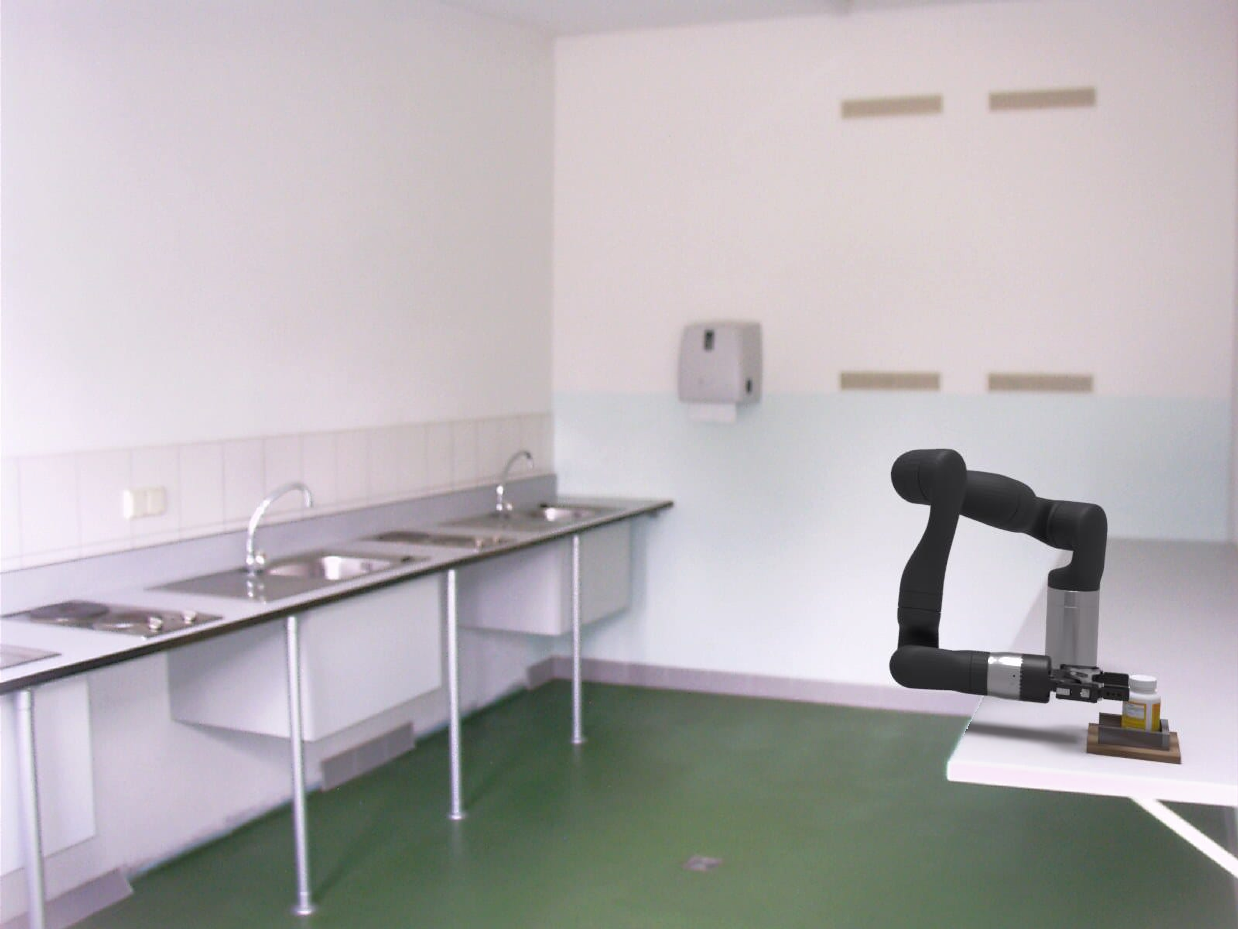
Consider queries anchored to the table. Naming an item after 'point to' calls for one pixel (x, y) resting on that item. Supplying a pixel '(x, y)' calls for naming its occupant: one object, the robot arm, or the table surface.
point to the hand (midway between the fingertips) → (1129, 687)
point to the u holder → (1132, 740)
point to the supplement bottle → (1142, 704)
